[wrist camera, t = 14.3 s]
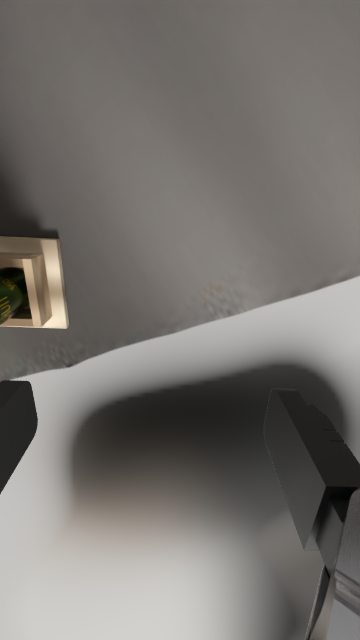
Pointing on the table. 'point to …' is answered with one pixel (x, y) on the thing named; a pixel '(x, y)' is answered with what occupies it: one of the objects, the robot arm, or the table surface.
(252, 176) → the table surface
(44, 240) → the wooden dispenser stand
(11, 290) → the green metal cylinder
